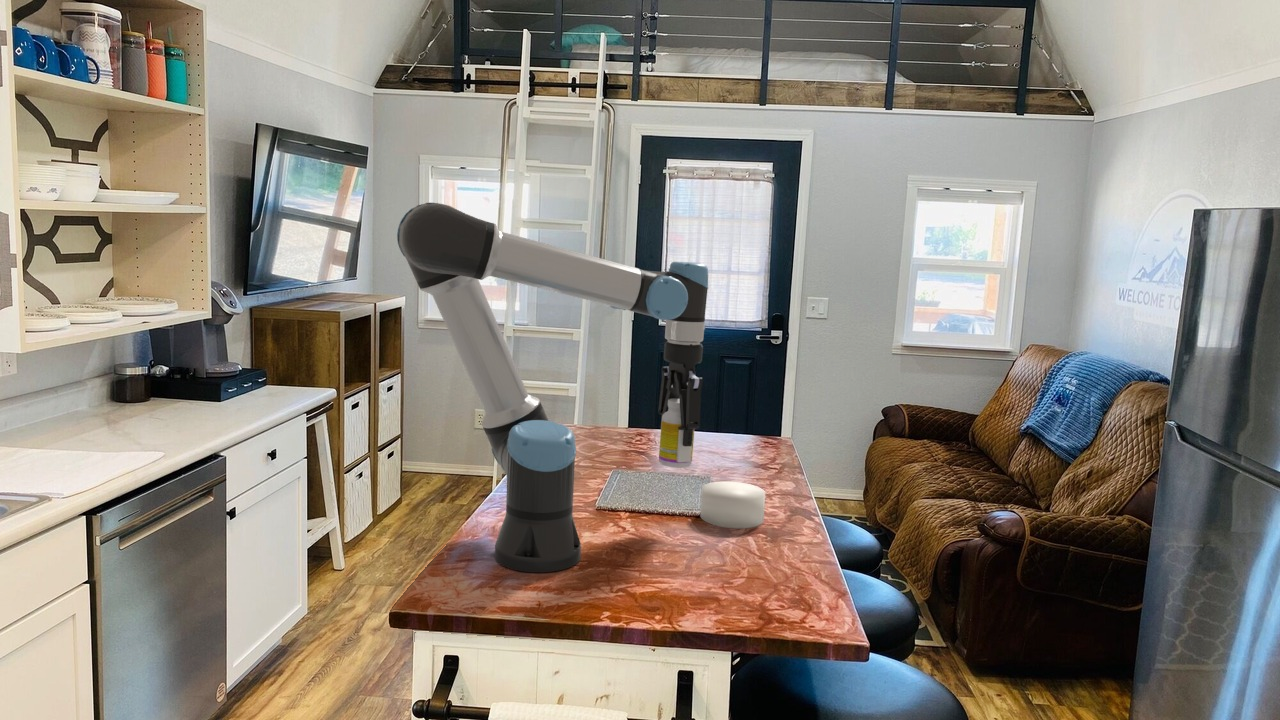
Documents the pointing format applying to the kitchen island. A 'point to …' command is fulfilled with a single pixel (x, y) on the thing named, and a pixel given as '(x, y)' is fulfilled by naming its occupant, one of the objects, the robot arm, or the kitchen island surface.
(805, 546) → the kitchen island surface
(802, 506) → the kitchen island surface
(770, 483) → the kitchen island surface
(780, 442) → the kitchen island surface
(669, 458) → the supplement bottle
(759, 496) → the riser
